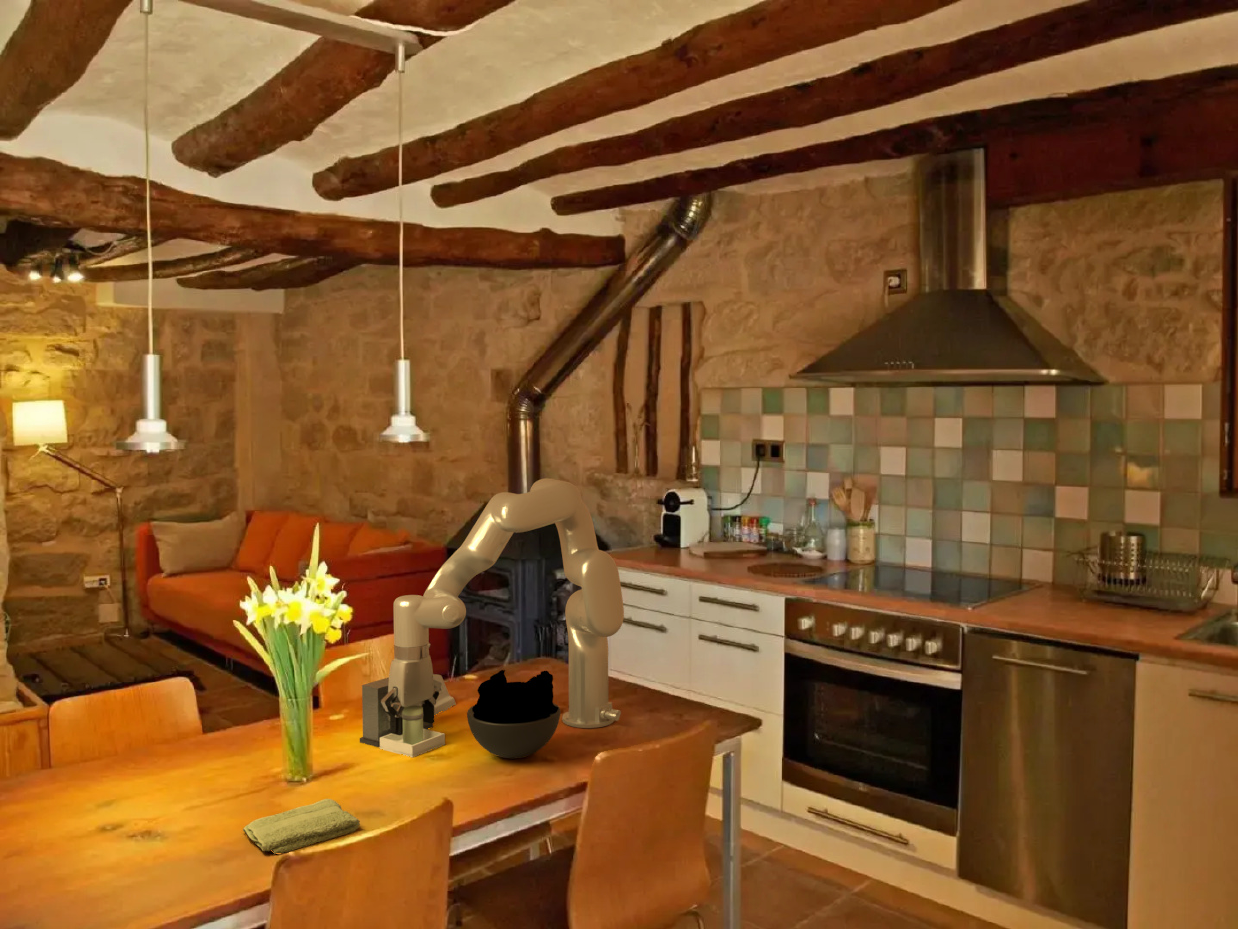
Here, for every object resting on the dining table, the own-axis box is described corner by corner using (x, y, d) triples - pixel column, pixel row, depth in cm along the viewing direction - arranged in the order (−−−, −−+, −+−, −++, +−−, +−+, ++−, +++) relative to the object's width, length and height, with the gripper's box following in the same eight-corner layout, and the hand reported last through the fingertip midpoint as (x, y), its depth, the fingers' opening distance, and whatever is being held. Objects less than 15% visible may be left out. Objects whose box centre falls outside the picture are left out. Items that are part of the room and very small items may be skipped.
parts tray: (444, 744, 229) (444, 733, 229) (412, 757, 221) (412, 746, 221) (412, 736, 235) (412, 726, 235) (379, 748, 227) (379, 737, 226)
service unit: (432, 727, 242) (432, 672, 241) (378, 747, 228) (377, 689, 227) (414, 723, 245) (413, 669, 244) (359, 742, 231) (358, 685, 230)
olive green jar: (428, 743, 229) (427, 707, 228) (413, 748, 225) (412, 712, 224) (413, 739, 231) (412, 704, 231) (398, 744, 227) (397, 709, 227)
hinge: (420, 723, 245) (407, 683, 245) (404, 728, 246) (392, 687, 247) (456, 704, 260) (445, 666, 261) (441, 708, 262) (430, 671, 263)
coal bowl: (448, 763, 217) (448, 676, 216) (499, 736, 235) (498, 655, 234) (531, 778, 209) (530, 687, 208) (576, 748, 227) (576, 664, 226)
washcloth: (239, 836, 182) (238, 818, 182) (334, 811, 193) (333, 794, 193) (265, 861, 172) (264, 843, 172) (364, 834, 183) (363, 816, 183)
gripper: (427, 642, 236) (428, 715, 237) (370, 657, 222) (371, 735, 223) (451, 646, 232) (452, 721, 233) (394, 662, 217) (395, 742, 218)
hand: (412, 728), depth 228 cm, fingers open, 9 cm apart
